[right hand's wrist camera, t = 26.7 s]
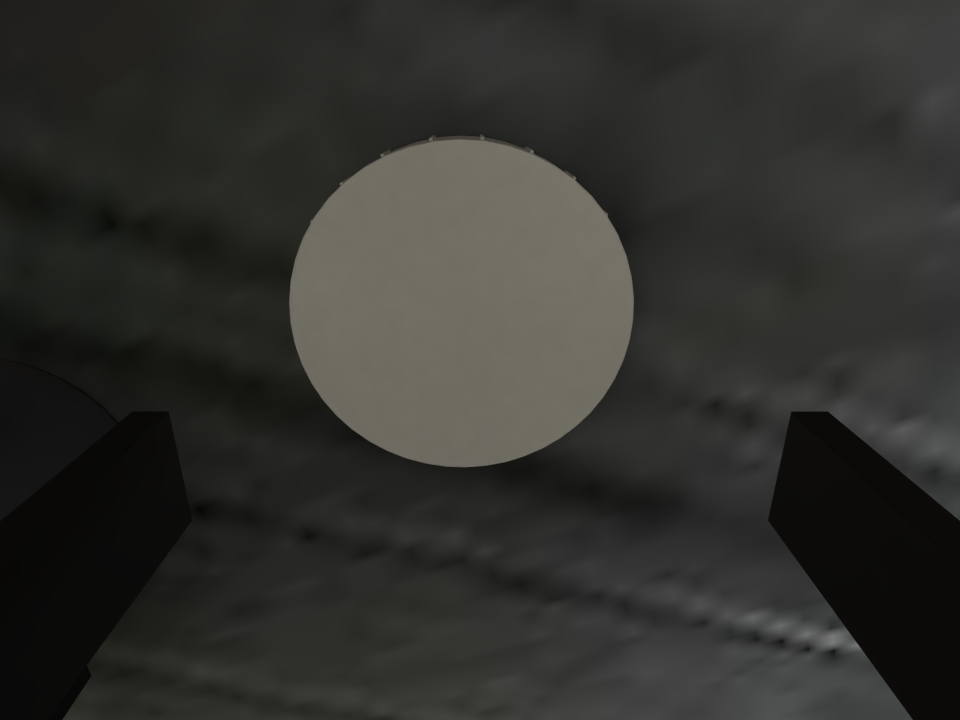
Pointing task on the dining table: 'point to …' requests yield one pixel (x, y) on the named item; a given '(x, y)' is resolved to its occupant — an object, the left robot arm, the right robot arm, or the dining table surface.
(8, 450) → the jar
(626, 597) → the dining table surface
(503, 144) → the lid
